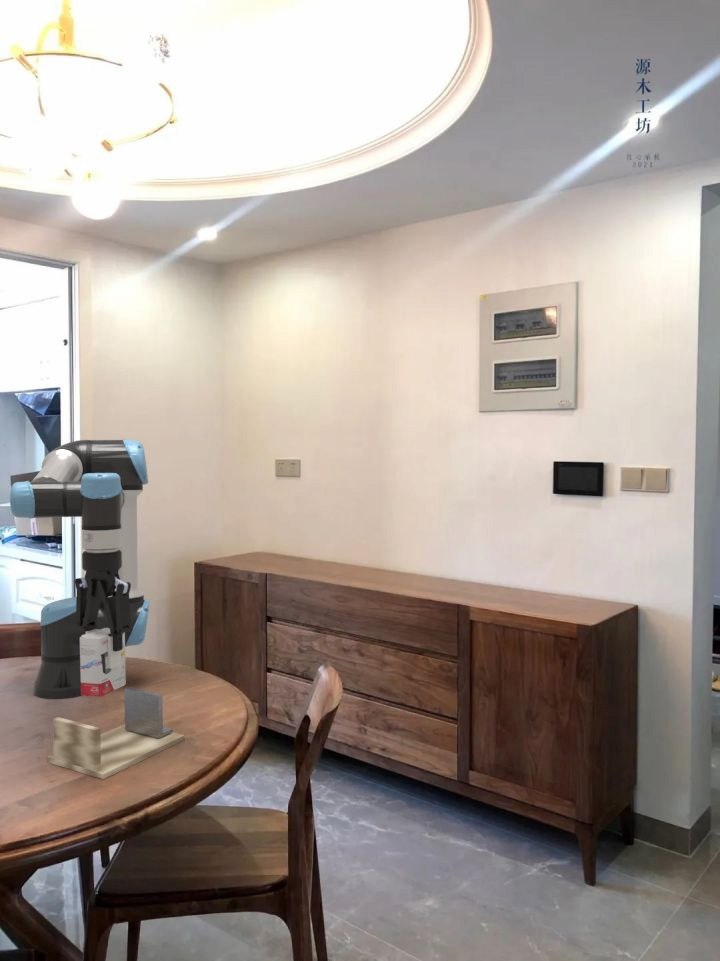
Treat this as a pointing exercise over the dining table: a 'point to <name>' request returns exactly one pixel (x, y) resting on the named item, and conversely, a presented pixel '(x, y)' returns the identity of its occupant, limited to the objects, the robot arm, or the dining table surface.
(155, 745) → the rack
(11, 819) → the dining table surface
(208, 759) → the dining table surface
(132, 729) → the bookend
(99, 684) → the ink box
